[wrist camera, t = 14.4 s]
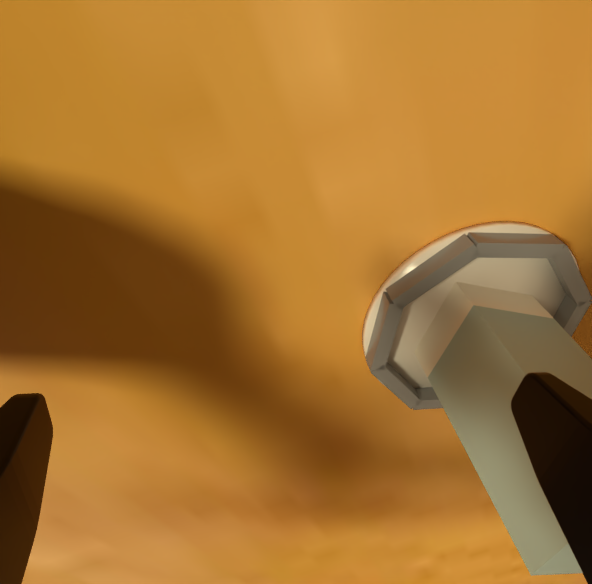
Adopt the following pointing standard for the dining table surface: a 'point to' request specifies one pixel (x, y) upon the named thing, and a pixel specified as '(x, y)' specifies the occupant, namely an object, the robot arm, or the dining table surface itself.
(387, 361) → the coaster
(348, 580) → the dining table surface
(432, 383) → the gray block
